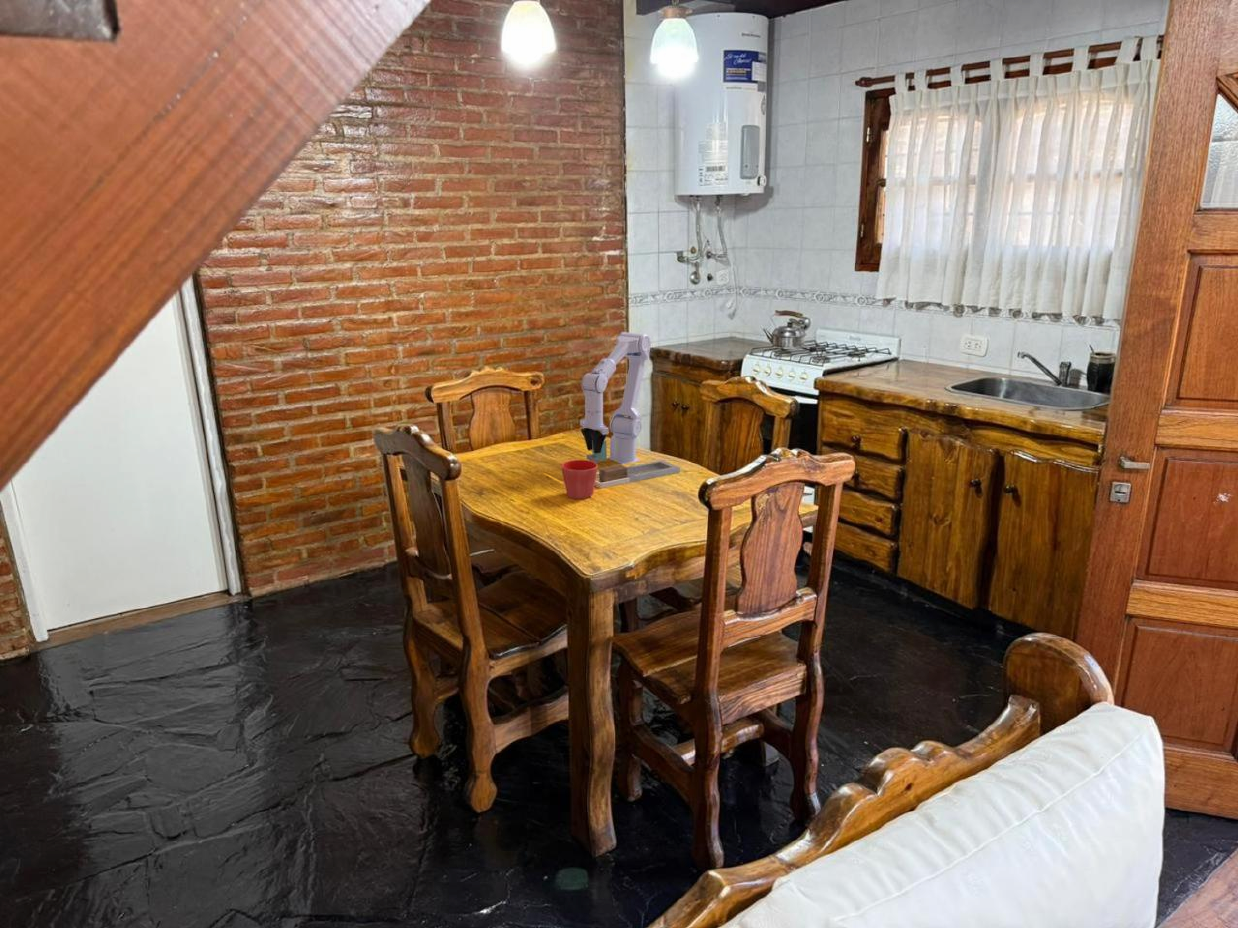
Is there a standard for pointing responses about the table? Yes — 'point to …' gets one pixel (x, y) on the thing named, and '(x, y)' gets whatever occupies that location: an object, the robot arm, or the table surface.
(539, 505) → the table surface
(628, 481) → the tray
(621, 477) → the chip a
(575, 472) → the flower pot
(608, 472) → the brown boxy piece
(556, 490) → the table surface
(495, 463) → the table surface
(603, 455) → the teal block
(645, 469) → the slot block
